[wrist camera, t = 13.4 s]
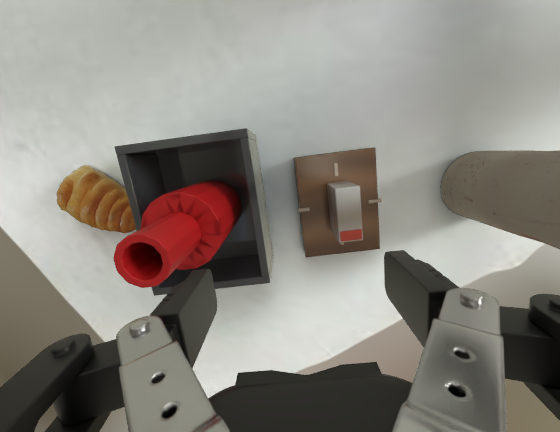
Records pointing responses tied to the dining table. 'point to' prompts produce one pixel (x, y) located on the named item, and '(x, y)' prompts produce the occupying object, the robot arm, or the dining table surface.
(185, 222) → the bottle
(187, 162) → the dark grey storage bin
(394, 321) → the dining table surface
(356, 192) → the grey switch handle
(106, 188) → the pastry
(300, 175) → the brown switch base plate
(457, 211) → the thermos bottle
